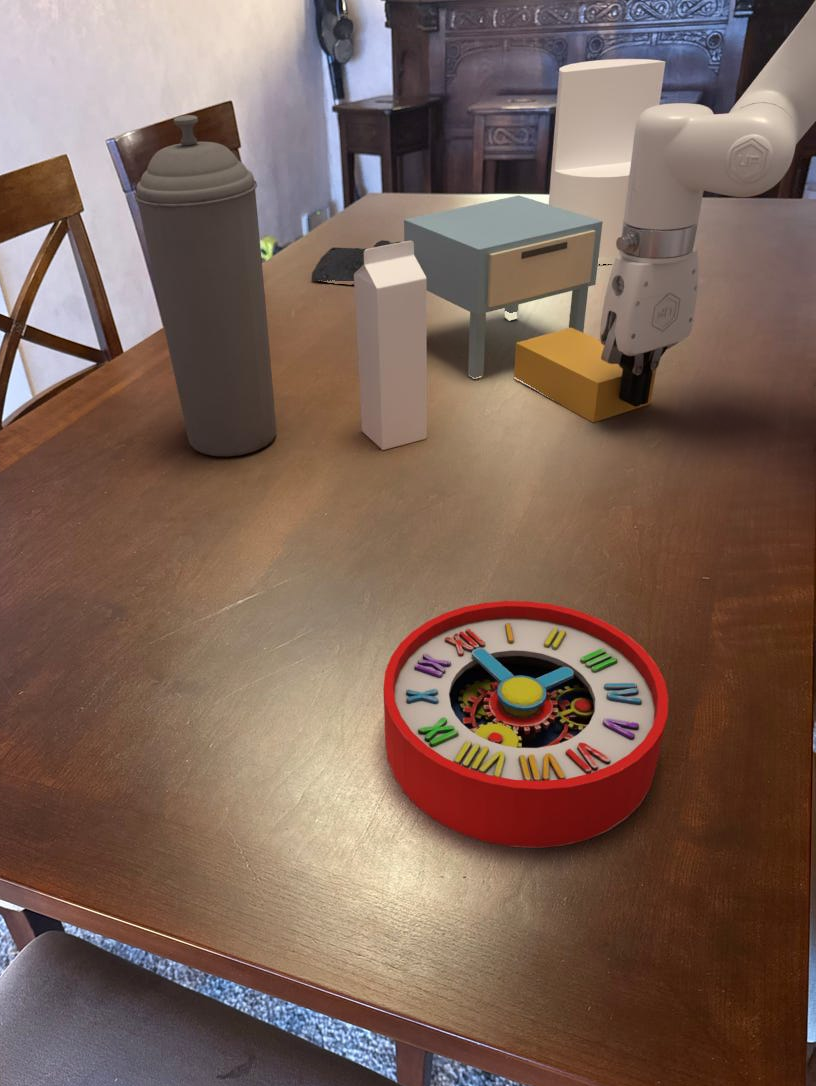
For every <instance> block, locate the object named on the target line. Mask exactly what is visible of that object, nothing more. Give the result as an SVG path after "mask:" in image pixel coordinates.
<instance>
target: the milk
mask: <svg viewBox="0 0 816 1086" xmlns="http://www.w3.org/2000/svg"><path fill="white" fill-rule="evenodd" d="M400 242H401V243H395V242H394V243H395V244H390V245H385V246H380V247H375V248H374V247H371V248H366V250H365V251H364V265H363V266H362V267H361V268H360V269H359V270H358V271H357V272H355V273H354V299H355V300H354V303H355V304H354V307H355V324H356V325H355V327H356V341H357V342H356V343H357V344H356V345H357V363H358V364H357V366H358V379H359V380H358V382H359V404H360V405H359V407H360V422H361V432H362V433H363V434H364V435H365V436H366V437H367V438H368V439H370V440H371V441H372V442H373V443H374V444H375V445H376V446H377V447H378V448H379V449H381V450H382V451H385V450H389V449H393V448H398V447H400V446H405V445H408V444H412V443H416V442H420V441H424V440H426V439H427V436H428V434H427V433H428V432H427V431H428V430H427V428H428V426H427V423H428V422H427V421H428V419H427V416H428V415H427V413H428V412H427V410H428V409H427V407H428V406H427V405H428V403H427V402H428V401H427V399H428V398H427V395H428V394H427V393H428V392H427V381H428V379H427V377H428V376H427V371H428V369H427V365H428V364H427V362H428V361H427V355H428V353H427V352H428V351H427V346H428V345H427V341H428V340H427V290H426V276H425V274H424V272H423V270H422V269H421V267H420V265H419V263H418V261H417V259H416V258H415V256H414V243H413V241H406V242H404V241H400Z"/></svg>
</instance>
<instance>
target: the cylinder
mask: <svg viewBox="0 0 816 1086" xmlns="http://www.w3.org/2000/svg"><path fill="white" fill-rule="evenodd" d="M665 69H666V61H665V60H659V59H647V58H614V59H613V58H612V59H611V58H610V59H599V60H589V61H581V62H575V63H569V64H565V65H563V66H561V67H559V69H558V70H559V71H558V81H557V82H558V83H557V94H556V105H555V107H556V108H555V118H554V119H555V120H554V131H553V144H552V157H551V169H550V180H549V182H550V183H549V194H548V195H549V196H548V205H552V206H555V207H558V208H561V209H565V210H568V211H571V212H574V213H578V214H581V215H584V216H587V217H591V218H594V219H597V220H600V221H603V223H602V232H601V241H600V249H599V257H610V256H611V257H612V256H613V257H614V256H617V255H619V252H620V250H618V248H617V246H616V241H617V239H618V238H619V237H622V229H623V221H624V213H625V205H626V198H627V190H628V182H629V174H630V166H631V158H632V150H633V142H634V134H635V129H636V123H637V120H638V118H639V116H640V115H641V114H642V113H643V112H644V111H645V110H646V109H648V108H651V107H653V106H657V105H661V103H660V102H661V96H662V89H663V82H664V75H665Z"/></svg>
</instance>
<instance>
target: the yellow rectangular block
mask: <svg viewBox="0 0 816 1086" xmlns="http://www.w3.org/2000/svg"><path fill="white" fill-rule="evenodd" d="M604 346H605V345H603V344H601V341H600V339H599V338H596V337H594V336H592V335H589V334H587V333H585V332H584V331H583V332H580V331H578V330H576V329H573V328H569V327H567V328H564V329H560V330H556V331H553V332H550V333H546V334H543V335H538V336H536V337H533V338H532V337H531V338H528V339H526V340H520V341H517V342H515V351H514V367H513V370H514V371H513V378H514V377H516V378H517V379H519V380H521V381H523V382H524V383H526V384H528V385H530V386H531V387H533V388H535V389H536V390H538V391H539V392H541V393H543V394H544V395H546V396H548V397H549V398H551V399H553V400H554V401H553V400H552V401H553V402H555V401H556V402H558V403H559V404H558V403H557V404H558V405H560V404H561V405H560V406H562V407H563V408H566V409H567V410H569V411H571V412H573V413H575V414H577V415H579V416H581V417H582V418H584V419H586V420H588V421H589V422H592V423H597V422H600V421H603V420H605V419H609V418H612V417H614V416H619V415H621V414H624V413H627V412H630V411H633V410H636V409H639V408H642V407H646V406H649V405H651V403H652V399H653V398H652V397H653V391H654V386H655V379H656V373H657V369H656V370H654V371H652V372H653V374H652V380H651V386H650V392H649V398H648V403H646V404H643V405H642V404H641V405H640V406H637V407H635V406H633V405H631V404H629V403H627V402H625V401H623V400H621V399H620V398H619V393H620V386H621V379H622V371H623V369H621V368H620V367H619V364H609V363H607V362H605V361H603V360H601V355H602V352H603V349H604ZM549 398H548V399H549ZM551 399H550V400H551ZM556 402H555V403H556Z"/></svg>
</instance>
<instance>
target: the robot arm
mask: <svg viewBox="0 0 816 1086" xmlns="http://www.w3.org/2000/svg"><path fill="white" fill-rule="evenodd" d="M815 123H816V0H814V1H813V3H812V4H811V6H810V7H809V9H808V10H807V12H806V13H805V14H804V15H803V17H802V18H801V19H800V21H799V22H798V23H797V24H796V26H795V27H794V29H793V30H792V31H791V32H790V34H789V35H788V36H787V37H786V39H784V41H783V42H782V44H781V45H780V47H778V49H777V50H776V51H775V53H774V54H773V55H772V56H771V58H770V59H769V61H768V62H767V63H766V65H764V67H763V68H762V69H761V70H760V72H759V73H758V75H757V76H756V77H755V79H753V81H752V82H751V84H750V85H749V86H748V87H747V88H746V90H745V91H744V93H742V95H741V96H740V98H739V99H738V100H737V101H736V103H735V104H734V105H733V107H732V108H731V109H730V111H729V112H728V113H716V114H715V113H714V112H713V110H712V109H711V108H710V107H708V106H706V105H703V104H699V103H689V102H688V103H687V102H672V103H663V104H659V105H657V106H653V107H651V108H648V109H646V110H645V111H644V112H643V113H642V114H641V115H640V116H639V118H638V120H637V123H636V129H635V134H634V142H633V150H632V158H631V166H630V174H629V182H628V190H627V198H626V205H625V213H624V221H623V229H622V237H619V238H618V239H617V241H616V246H617V248H618V250H620V252H619V255H617V256H616V258H615V261H614V264H613V265H612V268H611V271H610V275H609V278H608V283H607V287H606V291H605V295H604V301H603V306H602V313H601V319H600V327H599V340H600V341H601V344H603V345H605V346H604V349H603V352H602V355H601V360H603V361H605V362H607V363H609V364H619V367H620V368H621V369H623V371H622V379H621V386H620V393H619V398H620V399H621V400H623V401H625V402H627V403H629V404H631V405H633V406H635V407H637V406H640V405H641V404H642V405H643V404H646V403H648V398H649V392H650V386H651V380H652V374H653V372H652V371H654V370H656V371H657V369H658V367H659V365H660V362H661V358H662V357H663V355H664V354H665V352H666V351H667V350H669V349H670V348H672V347H674V346H676V345H678V344H679V343H680V342H683V341H684V340H685V339H687V338H688V337H689V336H690V334H691V332H692V329H693V325H694V320H695V318H694V317H695V312H696V304H697V298H698V288H699V287H698V286H699V251H698V249H697V248H696V247H695V241H696V236H697V232H698V231H697V230H698V225H699V220H700V213H701V207H702V202H703V196H704V192H708V193H714V194H718V195H721V196H722V195H723V196H728V197H735V198H749V197H750V198H751V197H756V196H758V195H762V194H764V193H766V192H768V191H769V190H771V189H772V188H774V187H775V186H777V184H778V183H779V182H781V180H782V179H783V178H784V177H785V176H786V174H787V172H788V170H789V169H790V167H791V166H792V162H793V159H794V156H795V151H796V146H797V144H798V143H799V142H800V140H801V139H802V138H803V137H804V136H805V134H806V133H807V132H808V131H809V130H810V128H811V127H812V126H813V125H815Z"/></svg>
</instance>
